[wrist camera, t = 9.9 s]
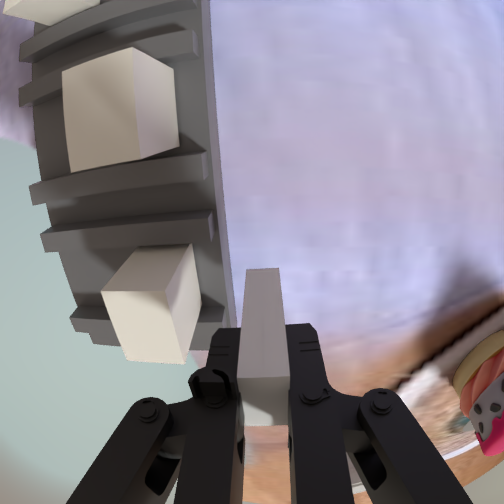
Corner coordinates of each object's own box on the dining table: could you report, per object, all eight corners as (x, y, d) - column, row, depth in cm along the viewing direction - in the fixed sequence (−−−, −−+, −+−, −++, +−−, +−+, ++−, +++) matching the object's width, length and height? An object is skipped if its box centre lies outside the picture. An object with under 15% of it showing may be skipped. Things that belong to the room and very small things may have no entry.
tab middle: (118, 81, 12) (61, 71, 7) (173, 69, 12) (132, 47, 7) (125, 154, 14) (70, 172, 9) (179, 146, 13) (141, 158, 9)
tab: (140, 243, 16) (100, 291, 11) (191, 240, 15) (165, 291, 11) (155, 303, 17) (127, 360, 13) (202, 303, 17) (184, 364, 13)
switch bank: (65, -30, 10) (33, -47, 6) (207, -76, 9) (195, -110, 5) (106, 321, 22) (83, 356, 18) (237, 323, 22) (232, 366, 18)
